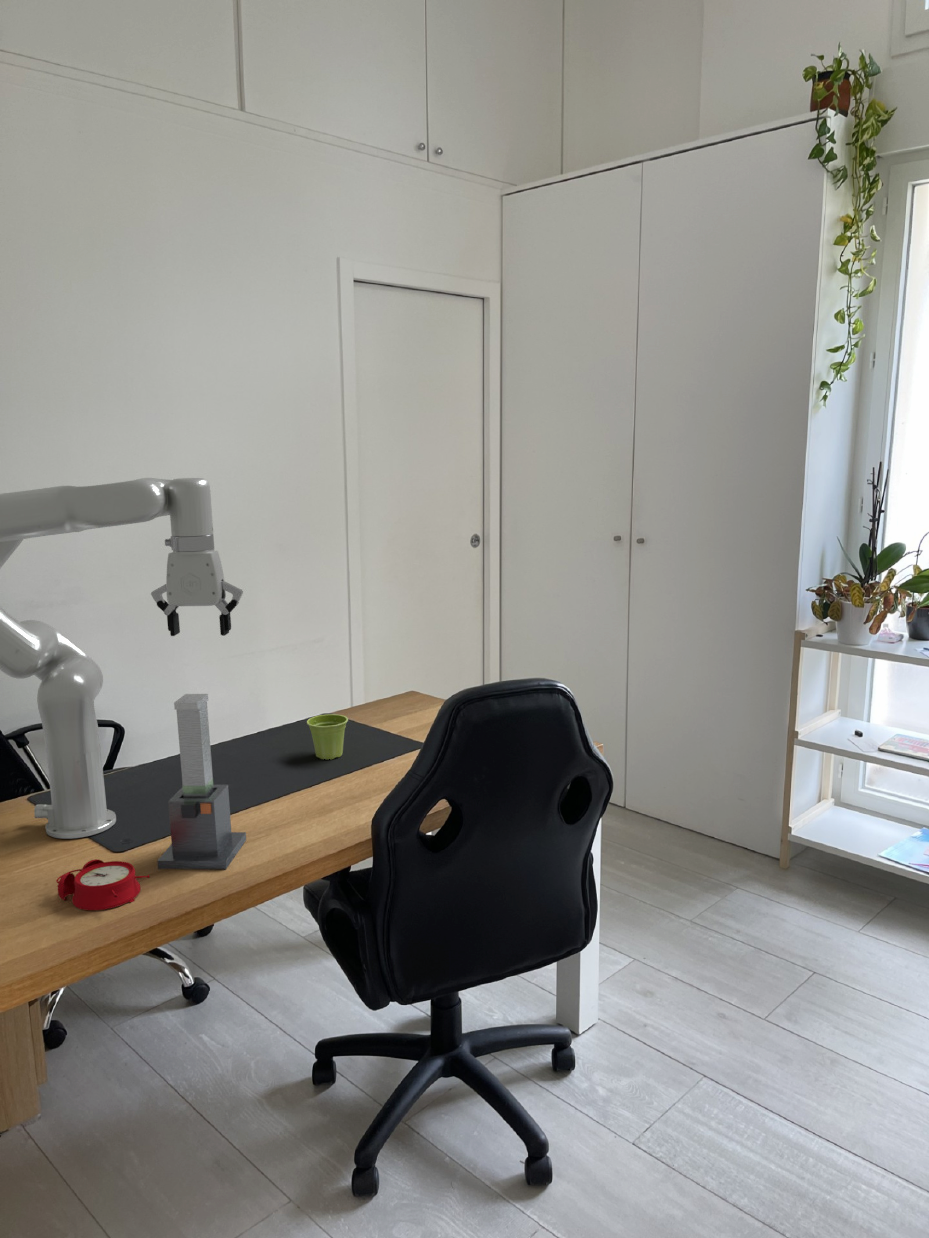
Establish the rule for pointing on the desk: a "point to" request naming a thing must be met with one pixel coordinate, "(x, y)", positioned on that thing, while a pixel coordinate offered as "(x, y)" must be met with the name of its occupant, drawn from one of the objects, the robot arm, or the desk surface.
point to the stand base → (201, 832)
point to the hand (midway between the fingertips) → (200, 634)
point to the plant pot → (328, 735)
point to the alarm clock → (100, 885)
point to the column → (194, 745)
